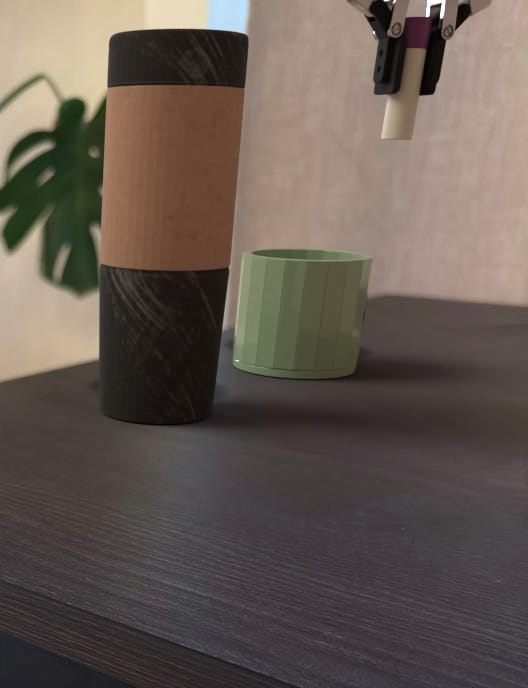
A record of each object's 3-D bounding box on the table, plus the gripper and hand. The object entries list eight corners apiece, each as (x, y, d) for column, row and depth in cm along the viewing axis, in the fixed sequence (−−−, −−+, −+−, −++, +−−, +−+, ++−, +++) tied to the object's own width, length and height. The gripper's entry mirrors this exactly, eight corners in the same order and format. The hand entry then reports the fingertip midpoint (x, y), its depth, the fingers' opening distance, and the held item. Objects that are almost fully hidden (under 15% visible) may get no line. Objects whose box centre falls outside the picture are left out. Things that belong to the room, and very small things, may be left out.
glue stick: (401, 139, 85) (421, 21, 81) (418, 139, 83) (439, 17, 79) (374, 139, 84) (392, 19, 80) (390, 139, 82) (410, 16, 78)
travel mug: (241, 415, 59) (282, 35, 50) (147, 432, 55) (171, 24, 46) (161, 391, 64) (184, 46, 55) (70, 405, 61) (78, 36, 51)
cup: (318, 353, 77) (333, 247, 74) (379, 376, 69) (398, 259, 66) (213, 357, 75) (223, 248, 72) (263, 381, 67) (277, 261, 64)
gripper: (509, -157, 78) (461, 99, 87) (329, -173, 75) (298, 94, 84) (572, -184, 72) (513, 95, 80) (378, -203, 69) (338, 90, 77)
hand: (403, 92), depth 82 cm, fingers closed on glue stick, 2 cm apart
